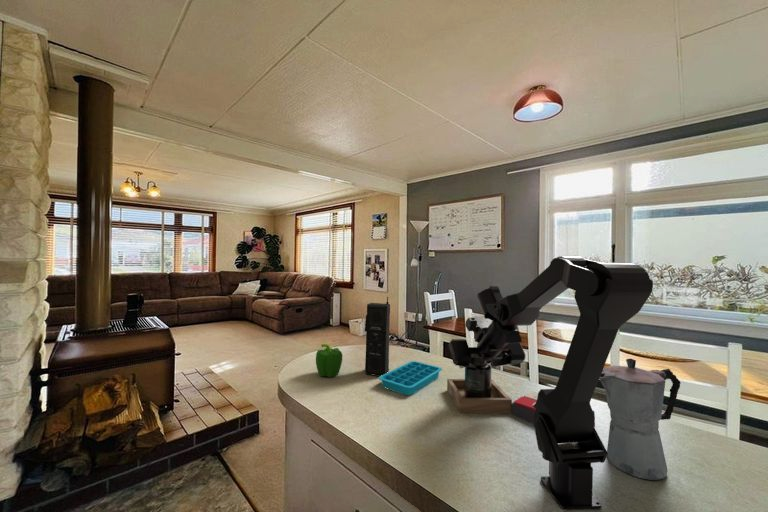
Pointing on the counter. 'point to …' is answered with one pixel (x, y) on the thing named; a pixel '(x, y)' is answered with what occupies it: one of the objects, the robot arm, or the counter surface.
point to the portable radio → (377, 338)
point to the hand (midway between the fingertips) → (475, 366)
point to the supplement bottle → (478, 379)
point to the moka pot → (637, 418)
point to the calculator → (526, 407)
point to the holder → (478, 399)
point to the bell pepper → (328, 361)
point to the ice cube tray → (410, 377)
